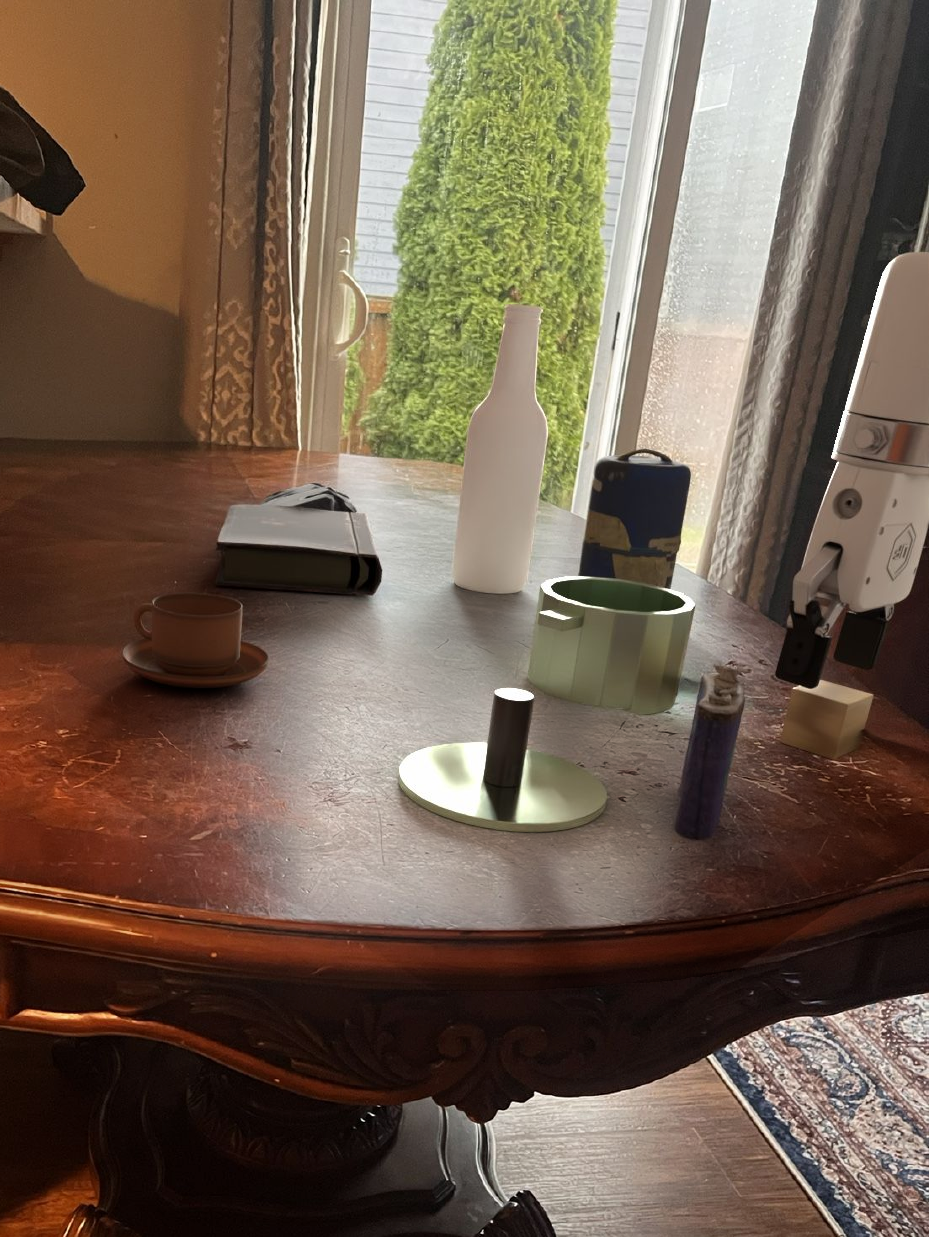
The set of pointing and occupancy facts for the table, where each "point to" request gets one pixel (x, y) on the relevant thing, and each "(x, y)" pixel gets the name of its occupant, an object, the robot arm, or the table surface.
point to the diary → (298, 550)
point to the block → (826, 719)
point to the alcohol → (503, 467)
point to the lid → (503, 777)
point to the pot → (610, 643)
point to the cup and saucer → (194, 643)
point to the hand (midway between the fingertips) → (825, 673)
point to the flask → (709, 752)
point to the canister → (635, 518)
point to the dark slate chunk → (312, 498)
